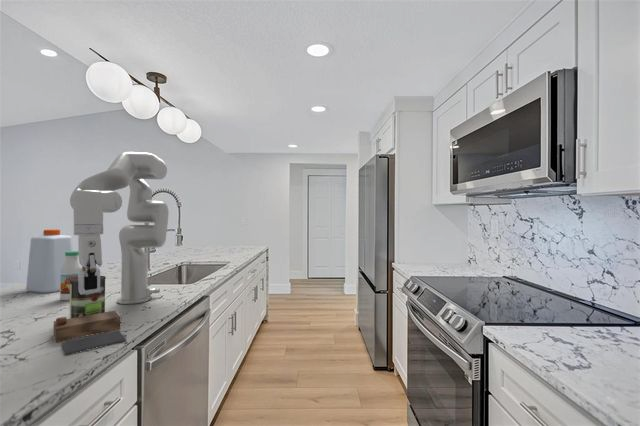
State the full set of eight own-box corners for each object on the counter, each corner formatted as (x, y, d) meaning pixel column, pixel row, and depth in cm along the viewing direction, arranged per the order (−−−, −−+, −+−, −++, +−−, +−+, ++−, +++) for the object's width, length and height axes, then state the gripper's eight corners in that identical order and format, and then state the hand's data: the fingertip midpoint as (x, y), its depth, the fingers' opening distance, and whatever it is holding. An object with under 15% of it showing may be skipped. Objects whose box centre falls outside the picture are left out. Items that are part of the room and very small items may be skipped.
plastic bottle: (47, 294, 143) (47, 231, 143) (21, 291, 146) (21, 230, 146) (79, 286, 158) (80, 229, 157) (55, 284, 161) (55, 228, 161)
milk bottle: (55, 299, 135) (56, 251, 135) (75, 295, 142) (75, 249, 142) (67, 301, 132) (67, 253, 132) (87, 297, 139) (87, 250, 139)
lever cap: (97, 288, 105) (97, 264, 105) (100, 291, 102) (100, 267, 101) (78, 291, 102) (78, 266, 101) (80, 294, 98) (80, 269, 98)
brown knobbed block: (114, 322, 109) (114, 305, 109) (120, 329, 104) (120, 311, 104) (53, 334, 98) (53, 316, 98) (55, 342, 93) (56, 323, 93)
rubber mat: (118, 332, 101) (118, 330, 101) (126, 341, 94) (126, 339, 94) (61, 344, 91) (61, 342, 91) (65, 355, 85) (65, 353, 85)
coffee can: (110, 317, 115) (111, 277, 115) (77, 325, 106) (77, 282, 106) (96, 311, 120) (97, 274, 120) (63, 319, 112) (64, 278, 112)
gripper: (108, 231, 97) (109, 291, 98) (98, 227, 110) (98, 280, 110) (77, 232, 92) (78, 295, 93) (70, 228, 104) (70, 283, 105)
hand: (89, 286), depth 102 cm, fingers closed on lever cap, 5 cm apart
